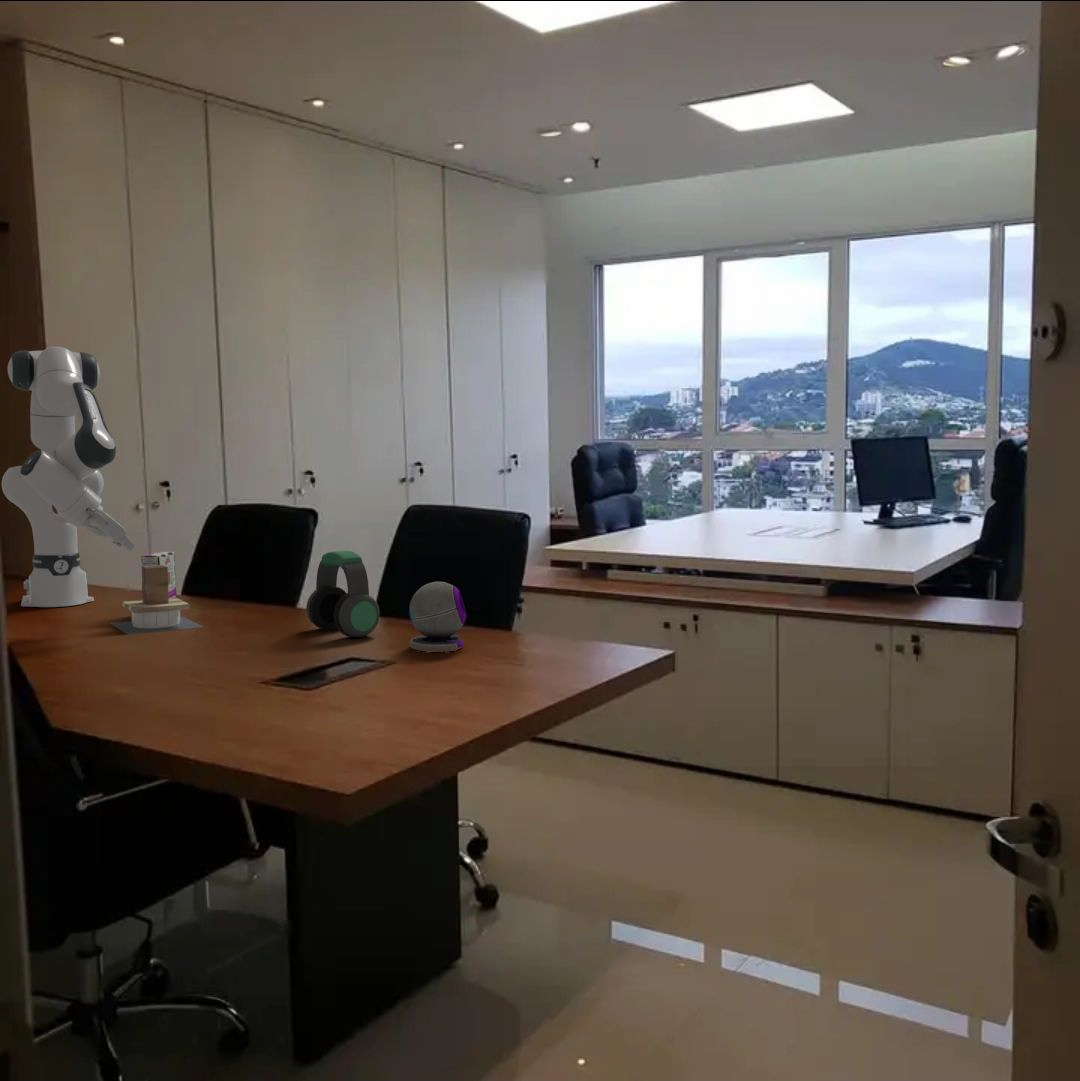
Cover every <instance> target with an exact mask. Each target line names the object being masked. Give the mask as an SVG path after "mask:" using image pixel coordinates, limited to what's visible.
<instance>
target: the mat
mask: <svg viewBox="0 0 1080 1081" xmlns="http://www.w3.org/2000/svg"><path fill="white" fill-rule="evenodd" d="M109 624H110V625H112V626H113V627H115V628H117V629H118V630H120V631H122V632H123V633H124V634H126V635H137V634H147V633H148V634H149V633H159V632H160V633H161V632H166V631H167V632H168V631H179V630H189V629H200V628H204V626H203V625H200V624H198V623H196V622H195V621H192V620H190V619H188V618H186V617H184V616H180V624H179V625H178V626H175V627H170V628H161V629H139V628H134V627H133V623H132V620H130V621H129V620H128V621H117V622H109Z"/></svg>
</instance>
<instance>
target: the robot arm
mask: <svg viewBox="0 0 1080 1081" xmlns="http://www.w3.org/2000/svg"><path fill="white" fill-rule="evenodd" d="M100 369H101V368H100V366H99V363H98V362H97V358H96V357H95V356H94V355H93V354H90V353H88V352H82V351H80V352H75V351H72V350H69V349H68V348H66V347H62V346H50V347H47V348H45V349H44V350H30V351H28V350H27V349H23V350H18V351H15V352H14V353H13V354H12V355H10V359H9V361H8V363H7V374H8V378H9V380H10V382H11V385H12V386H13V387H14V388H15V389H17V390H19V391H24V392H29V391H31V395H30V396H31V397H30V415H29V417H30V440H31V442H32V444H33V445H34V446H35V447H36V448H38V449H37V450H35V451H34V452H32V453H30V454H29V456H28V457H26V460H25V461H24V462H23V463H22V465H16V466H11V467H9V468H7V470H6V471H5V472H4V474H3V476H2V480H1V490H2V492H3V494H4V496H5V497H6V499H8V501H9V502H11V503H13V504H14V505H15V506H17V508H19V509H20V510H21V511H22V512H23V513H24V514H25V516H26V517H27V519H28V522H29V523H30V526H31V530H32V536H33V537H32V538H33V546H34V548H33V549H34V552H33V554H32V567H33V570H32V572H31V573H30V574H29V576H28V579H25V581H23V590H26V591H25V594H26V595H22V599H21V604H20V607H23V608H24V607H25V608H26V607H37V608H58V607H70V606H77V605H82V604H85V603H89V602H94V601H95V598H94V596H89V595H88V592H89V591H88V581H87V573H86V572H85V571H84V570H83V569H81V567H80V565H81V555H80V552H79V550H78V549H79V548H78V543H79V542H78V528H77V526H79V525H81V526H82V527H83V528H86V529H87V530H89V531H90V532H91V533H92V534H94V535H97V536H100V537H102V538H104V539H107V540H109V541H111V542H112V543H113V544H114V545H115V546H117V547H119V548H120V547H123V548H125V549H126V550H128V551H129V552H131V551H133V549H134V548H135V544H134V543H133V542H131V540H130V539H129V538H128V537H127V536H126V534H127V530H126V529H125V527H124V526H122V525H121V524H120V523H119V522H118V521H117V520H116V519H114V518H113V517H112V516H111V515H110V514H109V513H107V512H105V511H104V507H103V506H102V502H103V499H102V498H101V497H100V496H101V495H102V493H103V491H104V488H105V484H104V482H105V481H104V480H105V479H104V477H103V475H102V473H101V472H100V470H99V469H101V468H104V466H107V465H108V464H110V463H112V462H113V461H114V460H115V457H116V454H117V452H116V451H117V446H116V442H115V440H114V438H113V436H112V434H111V433H110V431H109V429H108V426H107V423H106V421H105V417H104V416H103V412H102V408H101V406H100V403H99V400H98V397H97V396H96V394H95V392H94V389H96V388H97V386H98V383H99V380H100V376H101V371H100ZM75 416H77V419H78V423H79V427H78V428H77V430H76V418H75ZM53 507H54V508H55V509H56V511H57V513H55V511H54V509H53ZM58 513H59V514H58Z"/></svg>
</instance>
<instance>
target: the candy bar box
mask: <svg viewBox="0 0 1080 1081" xmlns="http://www.w3.org/2000/svg"><path fill="white" fill-rule="evenodd" d="M140 558H141V559H140V560H141V567H142V566H154V565H164V566H166V567H168V598H172V597H176V598H177V583H176V563H175V561H176V560H175V551H158V552H157V551H156V552H154V553H149V554H146V555H141V556H140Z"/></svg>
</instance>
